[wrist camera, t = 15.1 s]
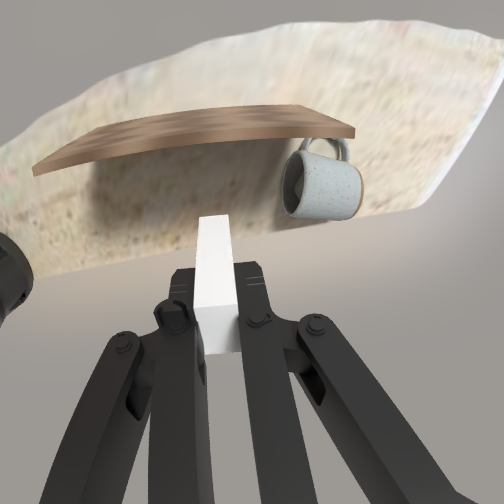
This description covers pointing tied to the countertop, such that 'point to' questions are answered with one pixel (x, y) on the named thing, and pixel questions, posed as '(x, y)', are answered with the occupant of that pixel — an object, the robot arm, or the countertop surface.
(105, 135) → the wooden board
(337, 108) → the countertop surface
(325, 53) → the countertop surface
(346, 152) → the ceramic mug
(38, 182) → the countertop surface
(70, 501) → the robot arm
